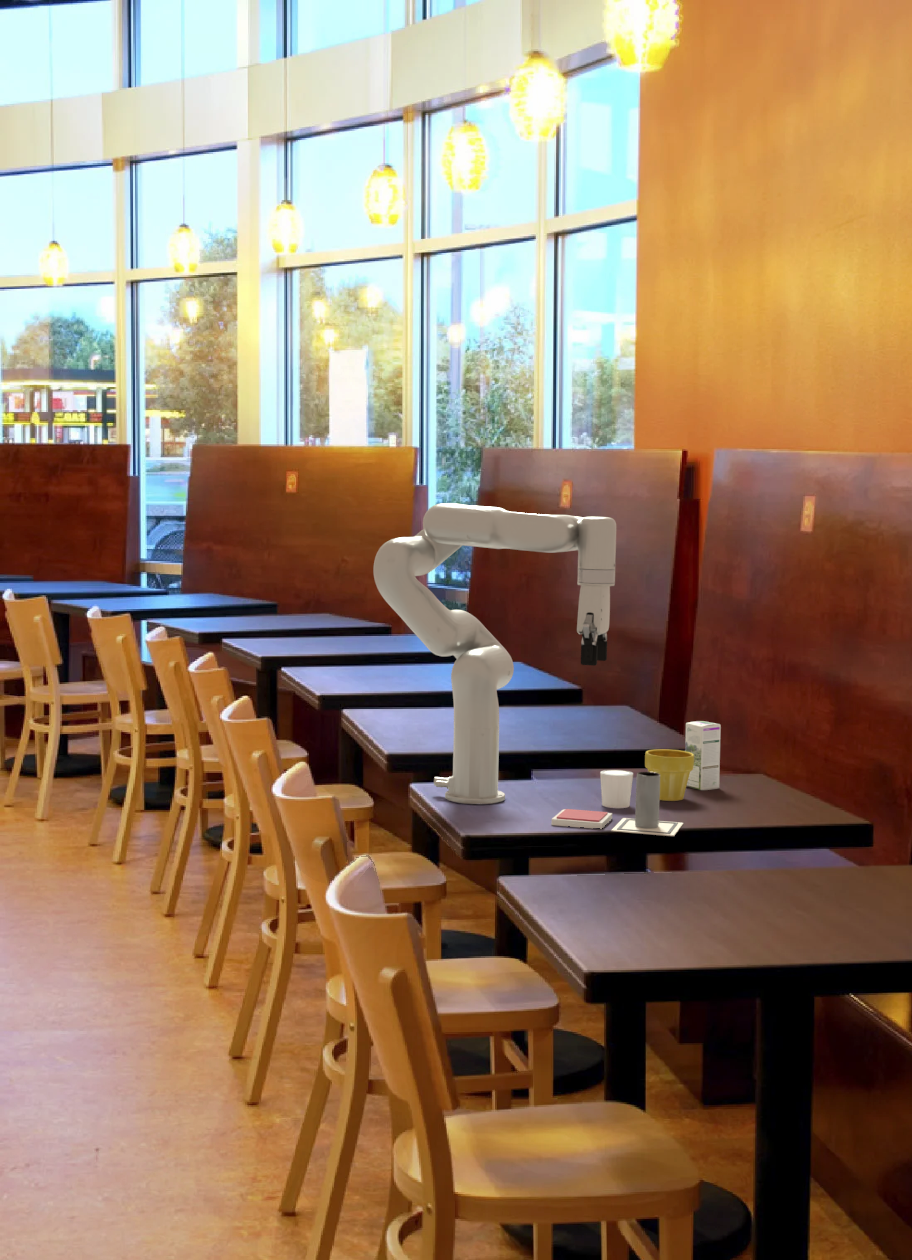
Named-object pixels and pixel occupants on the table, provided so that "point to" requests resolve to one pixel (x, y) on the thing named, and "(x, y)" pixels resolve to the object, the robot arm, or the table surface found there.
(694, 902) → the table surface
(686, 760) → the plant pot
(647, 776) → the grey cylinder
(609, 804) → the white cup
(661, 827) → the print card
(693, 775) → the syrup box
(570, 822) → the ink pad
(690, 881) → the table surface
